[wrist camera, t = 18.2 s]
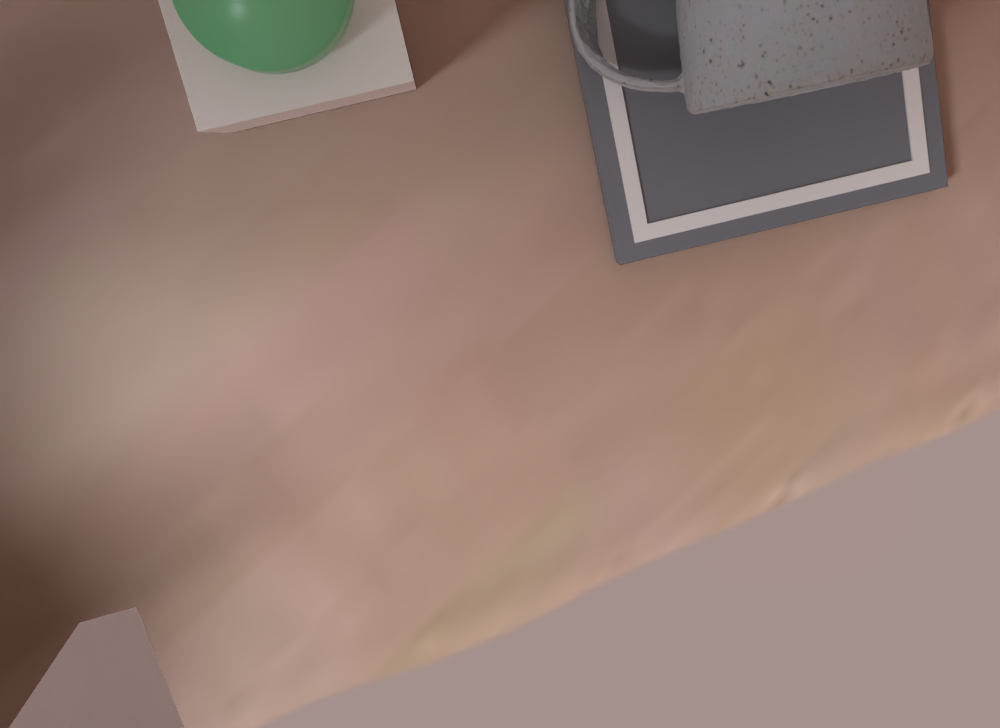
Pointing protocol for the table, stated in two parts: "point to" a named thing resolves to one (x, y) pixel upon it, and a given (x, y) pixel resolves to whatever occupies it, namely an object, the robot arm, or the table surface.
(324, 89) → the button box
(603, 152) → the mat
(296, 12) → the button
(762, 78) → the ceramic mug
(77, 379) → the table surface
